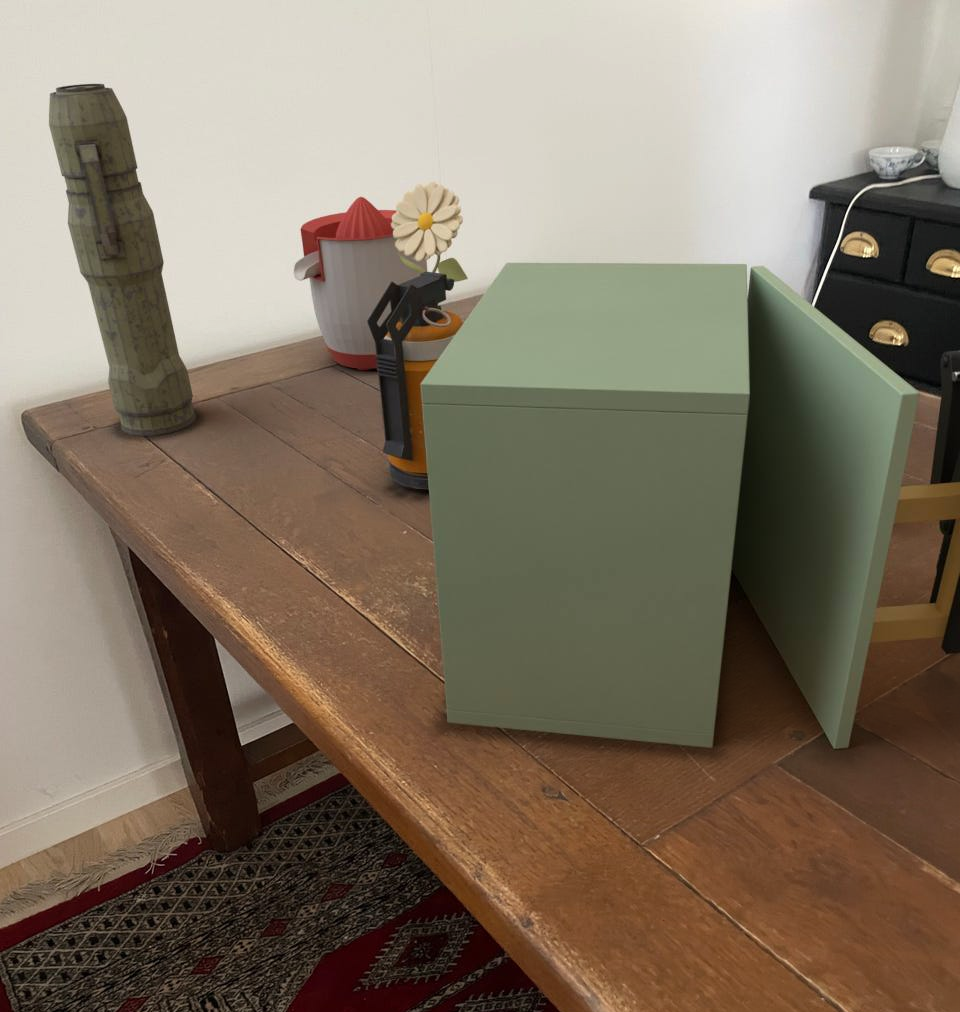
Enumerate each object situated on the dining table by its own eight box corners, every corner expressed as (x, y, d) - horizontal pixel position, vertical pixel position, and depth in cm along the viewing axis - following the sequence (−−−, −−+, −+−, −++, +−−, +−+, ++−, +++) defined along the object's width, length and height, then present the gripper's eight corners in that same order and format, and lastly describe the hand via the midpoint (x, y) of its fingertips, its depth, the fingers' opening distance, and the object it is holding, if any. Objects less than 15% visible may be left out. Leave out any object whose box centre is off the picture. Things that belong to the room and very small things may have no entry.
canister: (495, 468, 105) (487, 268, 94) (431, 511, 98) (414, 300, 87) (425, 451, 110) (410, 258, 99) (359, 491, 102) (334, 288, 91)
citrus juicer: (289, 355, 139) (265, 197, 128) (405, 331, 145) (392, 179, 134) (331, 388, 127) (309, 218, 116) (455, 361, 134) (445, 197, 122)
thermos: (192, 398, 127) (123, 77, 107) (201, 432, 117) (128, 87, 98) (118, 410, 124) (35, 85, 105) (122, 445, 115) (31, 96, 96)
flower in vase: (363, 408, 121) (337, 181, 107) (437, 383, 127) (421, 164, 113) (432, 438, 113) (414, 195, 99) (508, 409, 119) (501, 177, 105)
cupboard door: (810, 546, 89) (854, 259, 75) (950, 739, 67) (1047, 383, 54) (721, 553, 89) (750, 266, 75) (833, 749, 67) (902, 394, 53)
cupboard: (718, 554, 89) (746, 263, 75) (712, 749, 68) (750, 393, 54) (514, 541, 92) (506, 262, 79) (447, 723, 71) (419, 383, 57)
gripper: (916, 231, 58) (851, 586, 71) (1067, 302, 46) (955, 714, 59) (1042, 222, 59) (954, 576, 72) (1224, 290, 47) (1079, 701, 60)
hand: (955, 638), depth 66 cm, fingers closed on cupboard door, 2 cm apart
